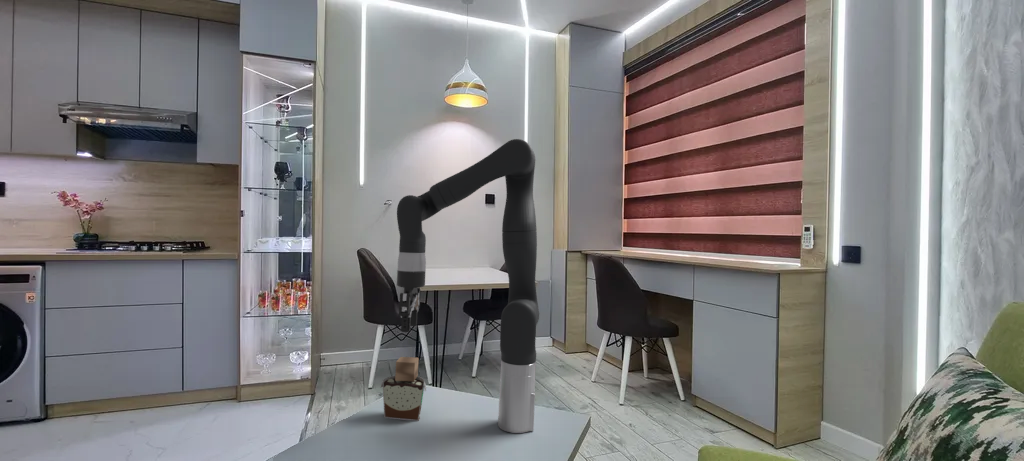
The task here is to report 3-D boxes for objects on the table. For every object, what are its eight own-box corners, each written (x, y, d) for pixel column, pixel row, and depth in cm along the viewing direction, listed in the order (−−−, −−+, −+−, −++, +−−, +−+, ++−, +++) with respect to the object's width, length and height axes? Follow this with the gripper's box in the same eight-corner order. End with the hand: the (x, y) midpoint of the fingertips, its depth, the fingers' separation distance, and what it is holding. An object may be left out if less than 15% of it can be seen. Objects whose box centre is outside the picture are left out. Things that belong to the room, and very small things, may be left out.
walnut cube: (417, 375, 125) (418, 357, 125) (413, 381, 120) (414, 362, 120) (399, 374, 125) (400, 356, 125) (395, 380, 120) (396, 361, 120)
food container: (430, 412, 125) (432, 376, 125) (423, 421, 119) (425, 383, 119) (387, 408, 126) (389, 372, 126) (379, 417, 120) (380, 379, 120)
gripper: (419, 271, 116) (417, 334, 116) (430, 267, 130) (427, 324, 130) (390, 270, 116) (388, 333, 116) (404, 266, 130) (401, 323, 130)
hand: (409, 328), depth 123 cm, fingers open, 8 cm apart
